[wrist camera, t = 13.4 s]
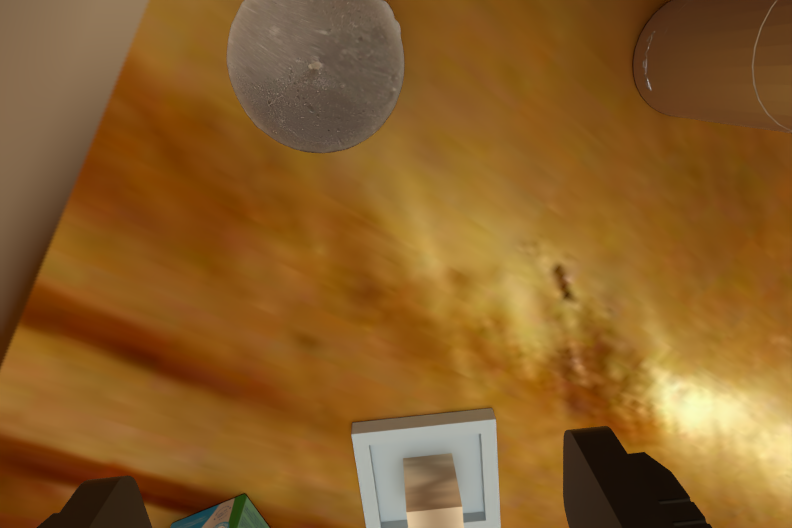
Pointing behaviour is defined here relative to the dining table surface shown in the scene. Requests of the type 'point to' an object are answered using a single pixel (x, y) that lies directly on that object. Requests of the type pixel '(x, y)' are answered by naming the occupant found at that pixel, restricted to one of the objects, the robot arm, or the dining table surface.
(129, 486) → the robot arm
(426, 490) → the maple block
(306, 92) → the pillar candle
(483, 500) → the tray
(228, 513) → the milk carton
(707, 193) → the dining table surface
